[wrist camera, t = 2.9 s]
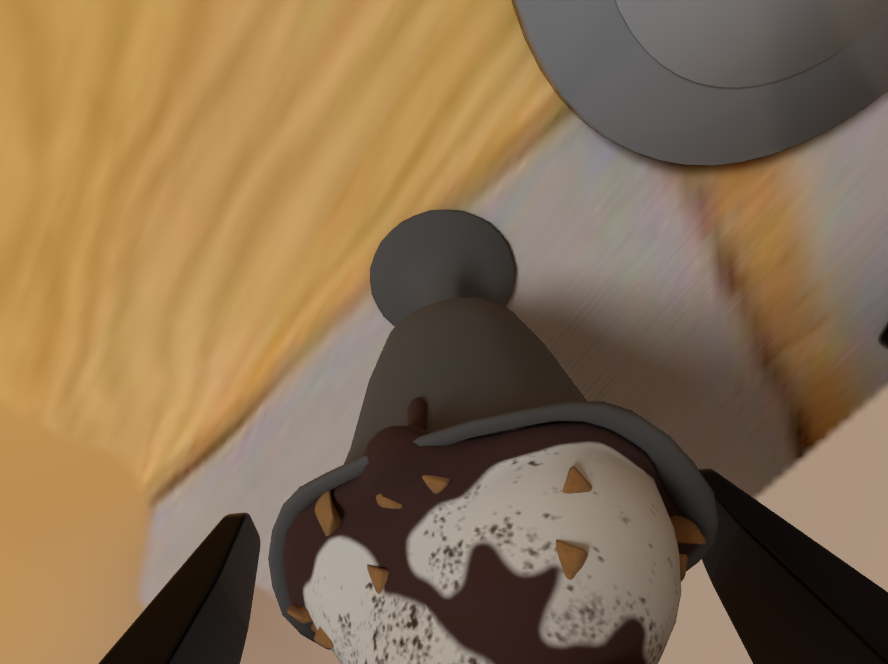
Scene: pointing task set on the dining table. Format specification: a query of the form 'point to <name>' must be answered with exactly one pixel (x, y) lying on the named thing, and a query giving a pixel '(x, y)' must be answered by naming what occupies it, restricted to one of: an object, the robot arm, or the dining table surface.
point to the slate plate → (710, 70)
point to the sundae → (486, 488)
